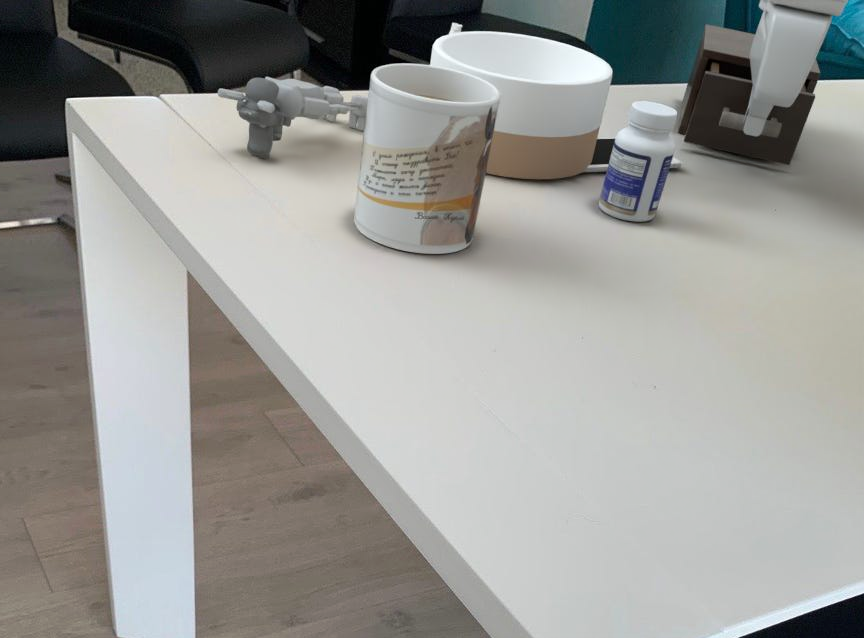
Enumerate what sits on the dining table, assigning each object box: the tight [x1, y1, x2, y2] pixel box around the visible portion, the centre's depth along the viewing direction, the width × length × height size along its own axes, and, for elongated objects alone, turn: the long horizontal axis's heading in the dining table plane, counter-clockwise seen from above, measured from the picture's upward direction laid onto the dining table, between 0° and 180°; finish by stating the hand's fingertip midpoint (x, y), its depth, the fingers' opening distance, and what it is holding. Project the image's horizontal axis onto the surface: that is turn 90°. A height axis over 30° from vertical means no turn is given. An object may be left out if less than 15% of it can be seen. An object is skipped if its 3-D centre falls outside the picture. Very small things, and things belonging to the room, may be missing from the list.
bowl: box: [429, 30, 613, 180], centre depth 99 cm, size 17×17×8 cm
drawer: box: [683, 59, 816, 166], centre depth 111 cm, size 18×11×7 cm, turn 165°
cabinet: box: [677, 24, 821, 135], centre depth 118 cm, size 15×13×9 cm
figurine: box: [217, 76, 368, 159], centre depth 94 cm, size 7×6×18 cm
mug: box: [353, 62, 501, 255], centre depth 80 cm, size 10×12×11 cm
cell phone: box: [580, 136, 683, 174], centre depth 104 cm, size 8×16×1 cm, turn 118°
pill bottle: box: [598, 100, 678, 223], centre depth 91 cm, size 5×5×9 cm
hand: (750, 131), depth 103 cm, fingers closed
